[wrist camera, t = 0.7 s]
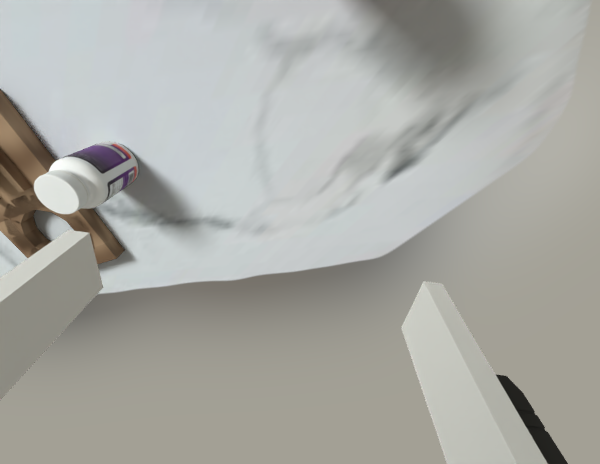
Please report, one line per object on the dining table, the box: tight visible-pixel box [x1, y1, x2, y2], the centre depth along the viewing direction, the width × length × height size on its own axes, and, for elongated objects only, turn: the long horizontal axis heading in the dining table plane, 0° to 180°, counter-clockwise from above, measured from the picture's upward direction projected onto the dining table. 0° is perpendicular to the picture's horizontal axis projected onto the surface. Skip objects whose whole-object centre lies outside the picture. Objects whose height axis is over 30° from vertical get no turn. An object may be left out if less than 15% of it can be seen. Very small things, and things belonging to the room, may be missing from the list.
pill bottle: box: [34, 141, 139, 214], centre depth 31 cm, size 5×5×10 cm
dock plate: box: [0, 89, 124, 264], centre depth 36 cm, size 22×12×3 cm, turn 19°
